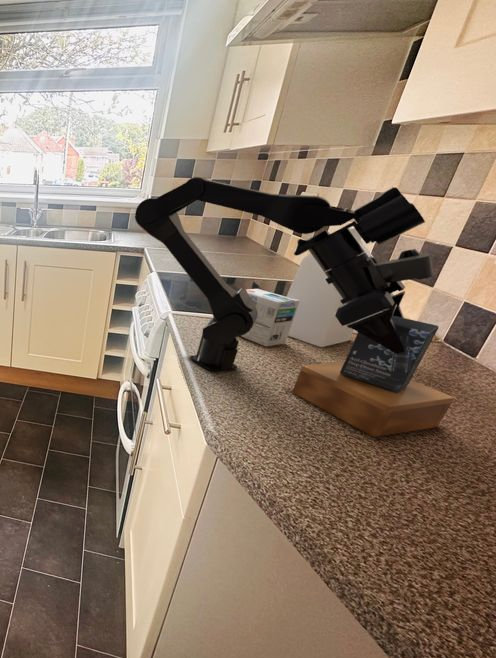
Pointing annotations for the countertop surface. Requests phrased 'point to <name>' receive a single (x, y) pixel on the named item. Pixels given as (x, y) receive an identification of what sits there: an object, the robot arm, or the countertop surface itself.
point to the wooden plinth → (371, 401)
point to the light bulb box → (271, 317)
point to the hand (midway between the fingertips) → (403, 345)
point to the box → (389, 356)
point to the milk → (318, 304)
